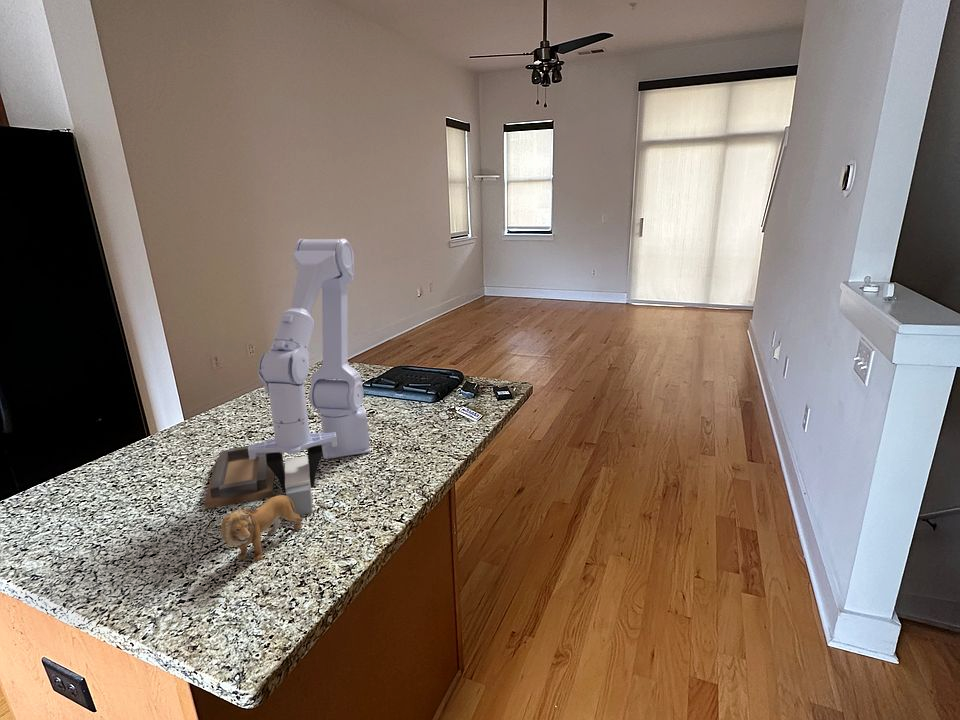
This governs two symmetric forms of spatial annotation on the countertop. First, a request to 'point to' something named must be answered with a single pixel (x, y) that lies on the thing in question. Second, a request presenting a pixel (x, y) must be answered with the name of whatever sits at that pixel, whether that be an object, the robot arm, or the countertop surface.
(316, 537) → the countertop surface
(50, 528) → the countertop surface
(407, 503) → the countertop surface
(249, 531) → the lion figurine
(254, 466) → the cradle jig
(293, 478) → the white pillar grey cap
